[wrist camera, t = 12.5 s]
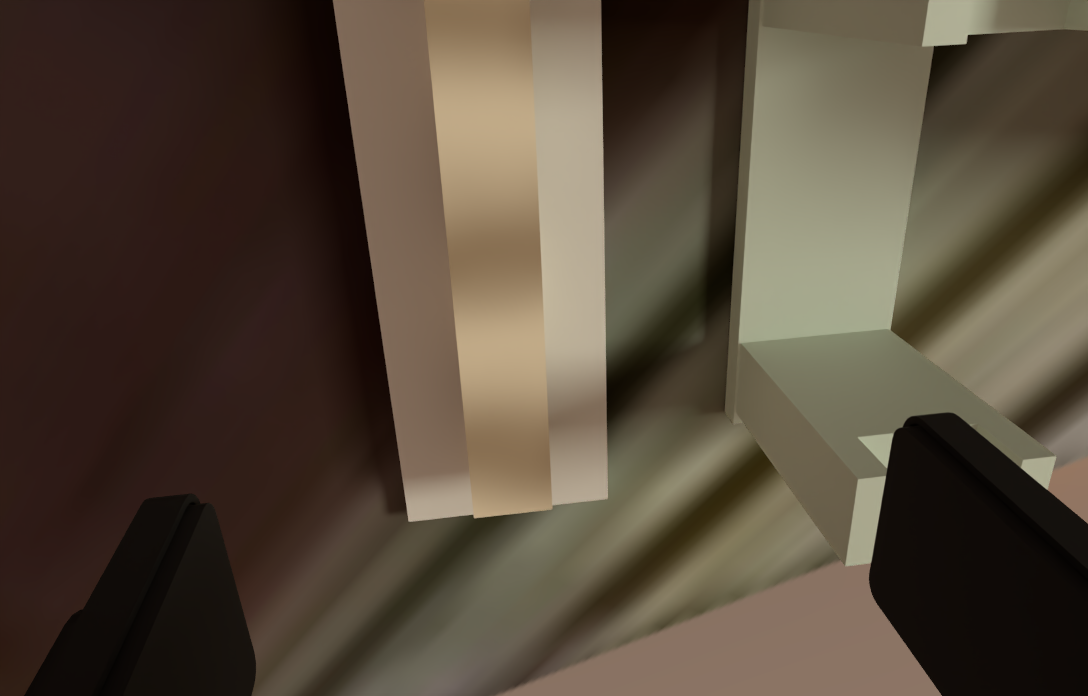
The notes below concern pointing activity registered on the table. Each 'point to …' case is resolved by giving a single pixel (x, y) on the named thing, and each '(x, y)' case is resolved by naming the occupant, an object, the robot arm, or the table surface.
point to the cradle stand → (845, 245)
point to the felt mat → (422, 253)
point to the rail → (493, 244)
